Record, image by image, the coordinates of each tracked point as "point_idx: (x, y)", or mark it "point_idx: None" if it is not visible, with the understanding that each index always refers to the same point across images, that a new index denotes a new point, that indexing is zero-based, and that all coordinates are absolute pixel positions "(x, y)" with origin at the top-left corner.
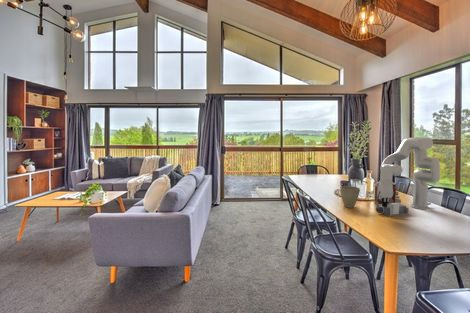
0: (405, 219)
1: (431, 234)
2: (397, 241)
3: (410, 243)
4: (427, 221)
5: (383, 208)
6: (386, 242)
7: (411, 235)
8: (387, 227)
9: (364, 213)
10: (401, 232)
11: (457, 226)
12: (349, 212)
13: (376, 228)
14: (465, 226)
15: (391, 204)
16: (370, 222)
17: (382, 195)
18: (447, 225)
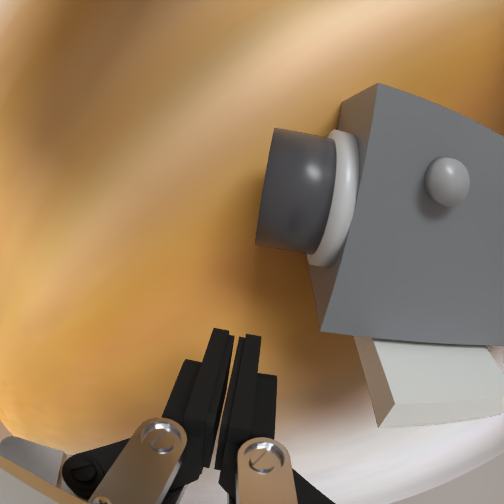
0: (350, 401)
1: (215, 498)
2: (45, 443)
3: None
4: (421, 443)
5: (314, 263)
6: (15, 424)
7: None
8: (74, 403)
9: (113, 98)
10: None
11: (430, 482)
12: (23, 46)
13: (20, 374)
14: (450, 480)
15: (376, 414)
16: (22, 315)
17: None
18: (417, 477)
